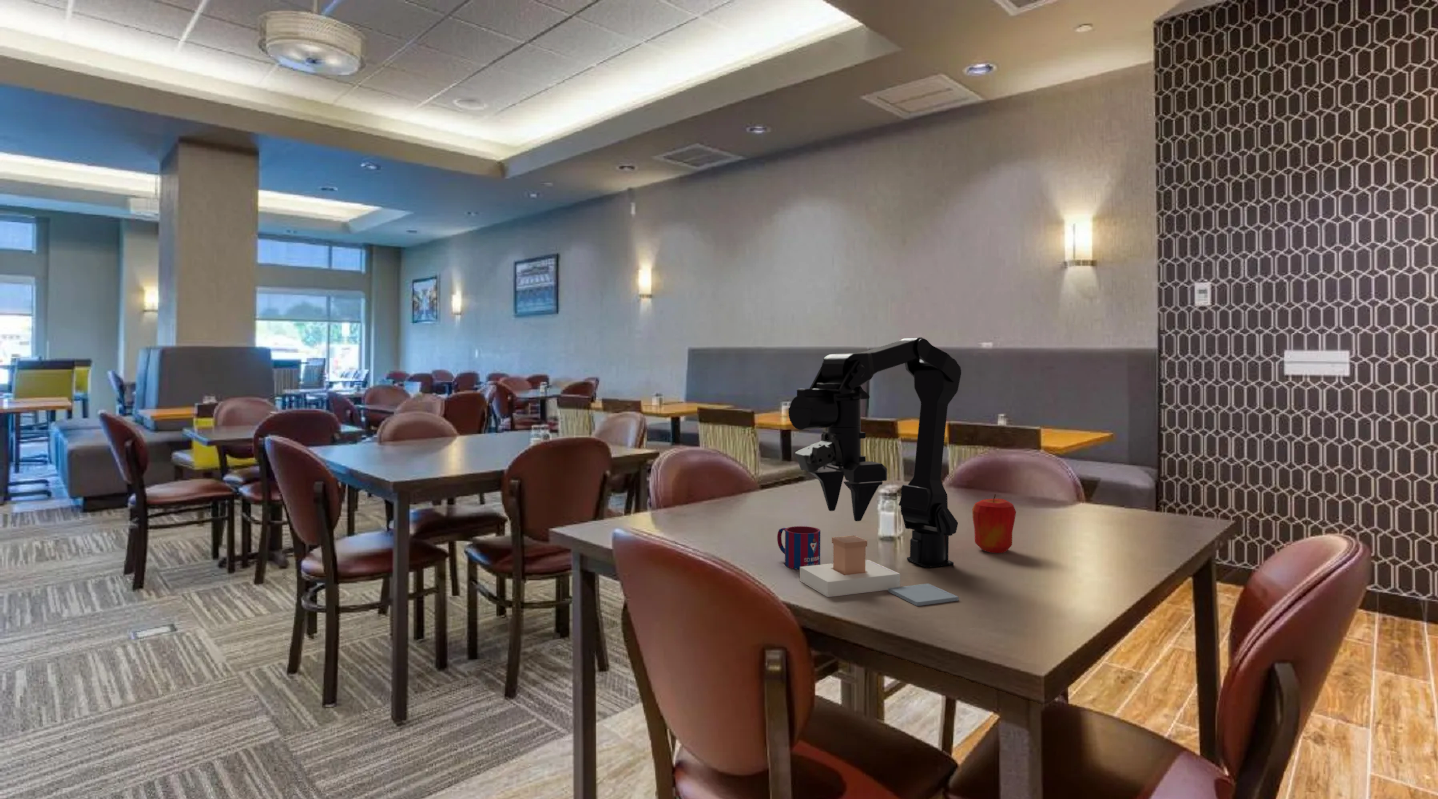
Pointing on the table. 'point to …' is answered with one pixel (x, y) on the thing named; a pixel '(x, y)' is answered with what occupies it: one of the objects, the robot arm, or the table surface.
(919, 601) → the pad
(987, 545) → the apple
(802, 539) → the mug
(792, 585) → the table surface
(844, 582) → the white flat block
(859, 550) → the plug
